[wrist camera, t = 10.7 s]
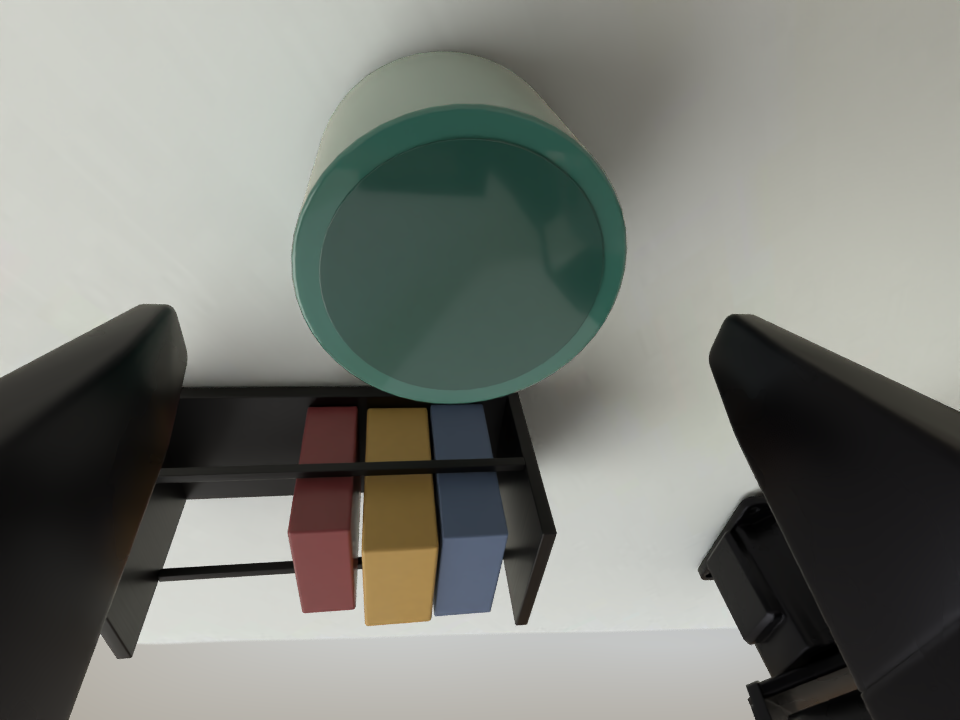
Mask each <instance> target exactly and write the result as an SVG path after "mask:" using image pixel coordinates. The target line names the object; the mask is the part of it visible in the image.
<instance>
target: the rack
mask: <svg viewBox="0 0 960 720" xmlns="http://www.w3.org/2000/svg"><path fill="white" fill-rule="evenodd" d="M462 404H482V405H483V409H484V414H485V419H486V424H487V429H488V434H489V439H490V444H491V449H492V454H493V458H484V459H451V460H418V461H385V462H365V452H366V427H367V411H368V409H370V408H426V409H427V412H428V424H429V421H430V407H431V405H457V404H438V403H428V402H421V401H415V400H411V399H406V398H402V397H398V396H396V395H393V394H390V393H387V392H384V391H382V390H379V389H377V388H375V387H247V388H182V389H181V393H180V398H179V402H178V407H177V411H176V416H175V420H174V425H173V429H172V434H171V438H170V442H169V446H168V450H167V453H166V456H165V459H164V462H163V465H162V467H161V470H160V473H159V476H158V478H157V481H156V484H155V486H154V489H153V492H152V495H151V497H150V500H149V503H148V505H147V508H146V511H145V514H144V516H143V519H142V522H141V524H140V527H139V530H138V533H137V535H136V538H135V541H134V543H133V546H132V549H131V552H130V554H129V557H128V560H127V562H126V565H125V568H124V571H123V573H122V576H121V579H120V581H119V584H118V587H117V590H116V592H115V595H114V598H113V600H112V603H111V606H110V609H109V611H108V614H107V617H106V619H105V622H104V625H103V628H102V630H101V633H100V634H101V635H102V637H103V638H104V640H105V641H106V643H107V644H108V646H109V647H110V649H111V650H112V652H113V653H114V655H115V656H116V658H117V659H123V658H131V657H132V655H133V652H134V649H135V647H136V644H137V641H138V638H139V635H140V632H141V629H142V626H143V624H144V621H145V618H146V615H147V612H148V609H149V606H150V603H151V600H152V598H153V595H154V592H155V589H156V586H157V583H158V580H159V581H160V582H163V581H179V580H194V579H210V578H226V577H242V576H258V575H274V574H290V573H295V570H294V564H293V561H285V562H268V563H251V564H234V565H218V566H201V567H184V568H167V569H163V566H164V563H165V560H166V557H167V554H168V551H169V548H170V545H171V543H172V540H173V537H174V534H175V531H176V528H177V525H178V522H179V519H180V517H181V514H182V511H183V508H184V505H185V502H186V499H211V498H237V497H262V496H287V495H294V490H295V484H296V478H324V477H353V476H361V493H363V492H364V478H365V476H382V475H411V474H440V473H469V472H496V474H497V479H498V484H499V489H500V494H501V499H502V504H503V509H504V514H505V519H506V524H507V529H508V534H509V535H508V539H507V543H506V547H505V551H504V556H503V560H504V565H505V571H506V576H507V582H508V587H509V593H510V598H511V603H512V609H513V614H514V620H515V624H516V625H526V624H527V623H528V620H529V617H530V614H531V611H532V608H533V605H534V602H535V598H536V595H537V592H538V589H539V586H540V583H541V580H542V577H543V574H544V571H545V568H546V565H547V562H548V559H549V556H550V553H551V550H552V547H553V543H554V540H555V537H556V534H557V532H556V528H555V525H554V521H553V518H552V514H551V510H550V507H549V503H548V500H547V496H546V493H545V489H544V485H543V482H542V478H541V475H540V471H539V467H538V464H537V460H536V457H535V453H534V450H533V446H532V442H531V439H530V435H529V432H528V428H527V424H526V421H525V417H524V414H523V410H522V407H521V403H520V399H519V396H518V392H515V393H512V394H509V395H507V396H503V397H499V398H495V399H491V400H486V401H480V402H474V403H462ZM334 406H356V407H357V409H358V426H359V450H360V462H352V463H319V464H299V459H300V453H301V446H302V440H303V434H304V428H305V422H306V415H307V410H308V408H309V407H334ZM357 569H362V557H358V567H357Z"/></svg>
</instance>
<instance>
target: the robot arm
mask: <svg viewBox="0 0 960 720" xmlns="http://www.w3.org/2000/svg"><path fill="white" fill-rule="evenodd" d="M709 364H710V367H711V370H712V373H713V376H714V379H715V381H716V384H717V387H718V390H719V393H720V395H721V398H722V401H723V404H724V407H725V409H726V412H727V415H728V418H729V420H730V423H731V426H732V428H733V431H734V434H735V436H736V438H737V440H738V443H739V445H740V447H741V449H742V451H743V453H744V455H745V457H746V459H747V461H748V463H749V466H750V468H751V470H752V472H753V474H754V476H755V478H756V480H757V482H758V484H759V486H760V488H761V490H762V492H763V494H764V496H753V497H749V498H746V499H745V500H743V501H742V502H741V503H740V504H739V506H738V507H737V509H736V510H735V512H734V514H733V515H732V517H731V518H730V520H729V521H728V523H727V524H726V526H725V528H724V529H723V531H722V532H721V534H720V535H719V537H718V539H717V540H716V542H715V543H714V545H713V546H712V548H711V549H710V551H709V553H708V554H707V556H706V557H705V559H704V560H703V562H702V564H701V565H700V567H699V568H698V572H699V574H700V576H701V578H702V579H703V580H714V581H715V583H716V585H717V587H718V589H719V591H720V593H721V595H722V597H723V599H724V601H725V603H726V605H727V607H728V609H729V611H730V613H731V615H732V617H733V619H734V621H735V623H736V625H737V627H738V629H739V631H740V633H741V635H742V637H743V639H744V640H745V641H746V642H747V643H748V644H750V645H752V644H755V646H756V648H757V650H758V652H759V653H760V655H761V658H762V660H763V661H764V663H765V665H766V667H767V669H768V671H769V673H770V675H771V678H769V679H767V680H764V681H762V682H759V681H755V682H753V683H750V684H748V685H746V687H747V690H748V692H749V696H750V697H749V698H748V701H749V703H750V705H751V708H752V711H753V714H754V717H755V720H960V412H959V411H957V410H955V409H953V408H951V407H948V406H946V405H944V404H942V403H940V402H938V401H936V400H934V399H931V398H929V397H927V396H925V395H923V394H921V393H919V392H917V391H915V390H912V389H910V388H908V387H906V386H904V385H902V384H900V383H898V382H895V381H893V380H891V379H889V378H887V377H885V376H883V375H881V374H878V373H876V372H874V371H872V370H870V369H868V368H866V367H864V366H861V365H859V364H857V363H855V362H853V361H851V360H849V359H847V358H844V357H842V356H840V355H838V354H836V353H834V352H832V351H830V350H827V349H825V348H823V347H821V346H819V345H817V344H815V343H813V342H810V341H808V340H806V339H804V338H802V337H800V336H798V335H796V334H794V333H791V332H789V331H787V330H785V329H783V328H781V327H779V326H777V325H774V324H772V323H770V322H768V321H766V320H764V319H762V318H760V317H757V316H755V315H751V314H732V315H730V316H728V317H727V318H726V319H725V320H724V322H723V324H722V326H721V328H720V330H719V333H718V335H717V337H716V339H715V341H714V343H713V346H712V348H711V350H710V354H709ZM186 366H187V350H186V346H185V342H184V339H183V335H182V331H181V328H180V324H179V321H178V317H177V314H176V312H175V310H174V308H173V307H171V306H170V305H166V304H141V305H138V306H136V307H134V308H132V309H130V310H129V311H127V312H125V313H123V314H121V315H119V316H117V317H115V318H113V319H111V320H110V321H108V322H106V323H104V324H102V325H100V326H98V327H96V328H94V329H92V330H91V331H89V332H87V333H85V334H83V335H81V336H79V337H77V338H75V339H73V340H72V341H70V342H68V343H66V344H64V345H62V346H60V347H58V348H56V349H54V350H53V351H51V352H49V353H47V354H45V355H43V356H41V357H39V358H37V359H35V360H34V361H32V362H30V363H28V364H26V365H24V366H22V367H20V368H18V369H16V370H15V371H13V372H11V373H9V374H7V375H5V376H3V377H1V378H0V720H69V717H70V714H71V712H72V709H73V706H74V704H75V701H76V698H77V695H78V693H79V690H80V687H81V684H82V682H83V679H84V676H85V674H86V671H87V668H88V666H89V663H90V660H91V657H92V655H93V652H94V649H95V646H96V644H97V641H98V638H99V636H100V633H101V630H102V628H103V625H104V622H105V619H106V617H107V614H108V611H109V609H110V606H111V603H112V600H113V598H114V595H115V592H116V590H117V587H118V584H119V581H120V579H121V576H122V573H123V571H124V568H125V565H126V562H127V560H128V557H129V554H130V552H131V549H132V546H133V543H134V541H135V538H136V535H137V533H138V530H139V527H140V524H141V522H142V519H143V516H144V514H145V511H146V508H147V505H148V503H149V500H150V497H151V495H152V492H153V489H154V486H155V484H156V481H157V478H158V476H159V473H160V470H161V467H162V465H163V462H164V459H165V456H166V453H167V450H168V446H169V442H170V438H171V434H172V429H173V425H174V420H175V416H176V411H177V407H178V402H179V398H180V393H181V389H182V384H183V380H184V375H185V371H186Z"/></svg>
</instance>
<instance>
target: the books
mask: <svg viewBox="0 0 960 720" xmlns="http://www.w3.org/2000/svg"><path fill="white" fill-rule="evenodd" d="M484 458H493V454H492V449H491V444H490V439H489V434H488V429H487V424H486V419H485V414H484V409H483V405H482V404H457V405H431V407H430V421H429V424H428V412H427V409H426V408H370V409H368V411H367V427H366V452H365V462H385V461H418V460H451V459H484ZM352 462H360V450H359V426H358V409H357V407H356V406H334V407H309V408H308V410H307V415H306V422H305V428H304V434H303V440H302V446H301V453H300V459H299V464H319V463H352ZM360 499H361V476H353V477H324V478H296V484H295V490H294V496H293V502H292V508H291V515H290V521H289V527H288V537H289V543H290V548H291V554H292V559H293V564H294V570H295V575H296V580H297V586H298V591H299V597H300V602H301V607H302V612H303V613H313V612H326V611H340V610H353V609H355V607H356V589H357V567H358V544H359V522H360ZM508 535H509V534H508V529H507V524H506V519H505V514H504V509H503V504H502V499H501V494H500V489H499V484H498V479H497V474H496V472H469V473H440V474H411V475H382V476H365V478H364V504H363V529H362V569H363V591H364V612H365V624H366V625H367V626H374V625H386V624H399V623H411V622H423V621H430V620H431V617H432V607H433V606H434V615H435V616H444V615H457V614H469V613H482V612H490V611H491V607H492V602H493V598H494V594H495V590H496V585H497V581H498V577H499V573H500V568H501V564H502V560H503V556H504V551H505V547H506V543H507V539H508Z"/></svg>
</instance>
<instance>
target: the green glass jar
mask: <svg viewBox="0 0 960 720" xmlns="http://www.w3.org/2000/svg"><path fill="white" fill-rule="evenodd" d="M626 253H627V240H626V227H625V222H624V217H623V212H622V208H621V205H620V202H619V200H618V197H617V194H616V191H615V189H614V187H613V186H612V184H611V182H610V180H609V178H608V177H607V175H606V173H605V171H604V170H603V169H602V168H601V166H600V165H599V164H598V162H597V161H596V160H595V159H594V157H593V156H592V155H591V154H590V152H589V151H588V150H587V149H586V148H585V147H584V146H583V144H582V143H581V142H580V141H579V140H578V139H577V138H576V137H575V135H574V134H573V133H572V132H571V131H570V130H569V129H568V127H567V126H566V125H565V124H564V123H563V122H562V121H561V120H560V118H559V117H558V116H557V115H556V114H555V113H554V112H553V110H552V109H551V108H550V107H549V106H548V105H547V104H546V102H545V101H544V100H543V99H542V98H541V97H540V96H539V95H538V93H537V92H536V91H535V90H534V89H533V88H532V87H530V86H529V85H528V84H527V83H526V82H525V81H524V80H523V79H522V78H520V77H519V76H517V75H516V74H515V73H513V72H512V71H510V70H509V69H507V68H505V67H503V66H501V65H499V64H497V63H495V62H493V61H491V60H488V59H485V58H482V57H479V56H476V55H471V54H466V53H460V52H445V51H435V52H427V53H419V54H415V55H411V56H407V57H404V58H400V59H398V60H395V61H393V62H391V63H389V64H387V65H384V66H382V67H380V68H379V69H377V70H376V71H374V72H373V73H371V74H369V75H368V76H366V77H365V78H364V79H363V80H362V81H361V82H359V83H358V84H357V85H356V86H355V87H354V88H352V89H351V91H350V92H349V93H348V94H347V95H346V96H345V98H344V99H343V100H342V101H341V102H340V104H339V105H338V107H337V108H336V110H335V112H334V113H333V115H332V116H331V118H330V120H329V122H328V124H327V127H326V129H325V131H324V133H323V136H322V139H321V143H320V146H319V149H318V153H317V156H316V160H315V163H314V166H313V170H312V173H311V176H310V180H309V183H308V186H307V190H306V193H305V197H304V200H303V203H302V207H301V210H300V213H299V217H298V221H297V224H296V228H295V231H294V235H293V243H292V252H291V267H292V280H293V285H294V290H295V295H296V298H297V301H298V304H299V307H300V310H301V312H302V315H303V317H304V319H305V321H306V322H307V324H308V326H309V328H310V330H311V332H312V333H313V335H314V336H315V337H316V339H317V340H318V342H319V343H320V344H321V346H322V347H323V348H324V349H325V350H326V352H327V353H328V354H329V355H330V356H331V357H332V358H333V359H334V360H335V361H336V362H337V363H338V364H340V365H341V366H342V367H343V368H345V369H346V370H347V371H348V372H349V373H351V374H353V375H354V376H356V377H357V378H359V379H360V380H362V381H364V382H365V383H367V384H369V385H371V386H373V387H375V388H377V389H379V390H382V391H384V392H387V393H390V394H393V395H396V396H398V397H402V398H406V399H411V400H415V401H421V402H428V403H438V404H462V403H474V402H480V401H486V400H491V399H495V398H499V397H503V396H507V395H509V394H512V393H515V392H518V391H520V390H523V389H525V388H527V387H530V386H532V385H534V384H536V383H538V382H540V381H542V380H543V379H545V378H547V377H548V376H550V375H552V374H553V373H555V372H556V371H558V370H559V369H560V368H562V367H563V366H564V365H566V364H567V363H568V362H570V361H571V360H572V359H573V358H574V357H575V356H576V355H577V354H578V353H580V352H581V351H582V350H583V349H584V348H585V346H586V345H587V344H588V343H589V342H590V341H591V340H592V338H593V337H594V336H595V335H596V333H597V332H598V331H599V329H600V328H601V326H602V325H603V323H604V322H605V320H606V319H607V317H608V315H609V313H610V311H611V309H612V307H613V305H614V303H615V301H616V298H617V295H618V293H619V290H620V287H621V283H622V279H623V275H624V271H625V263H626Z"/></svg>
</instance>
